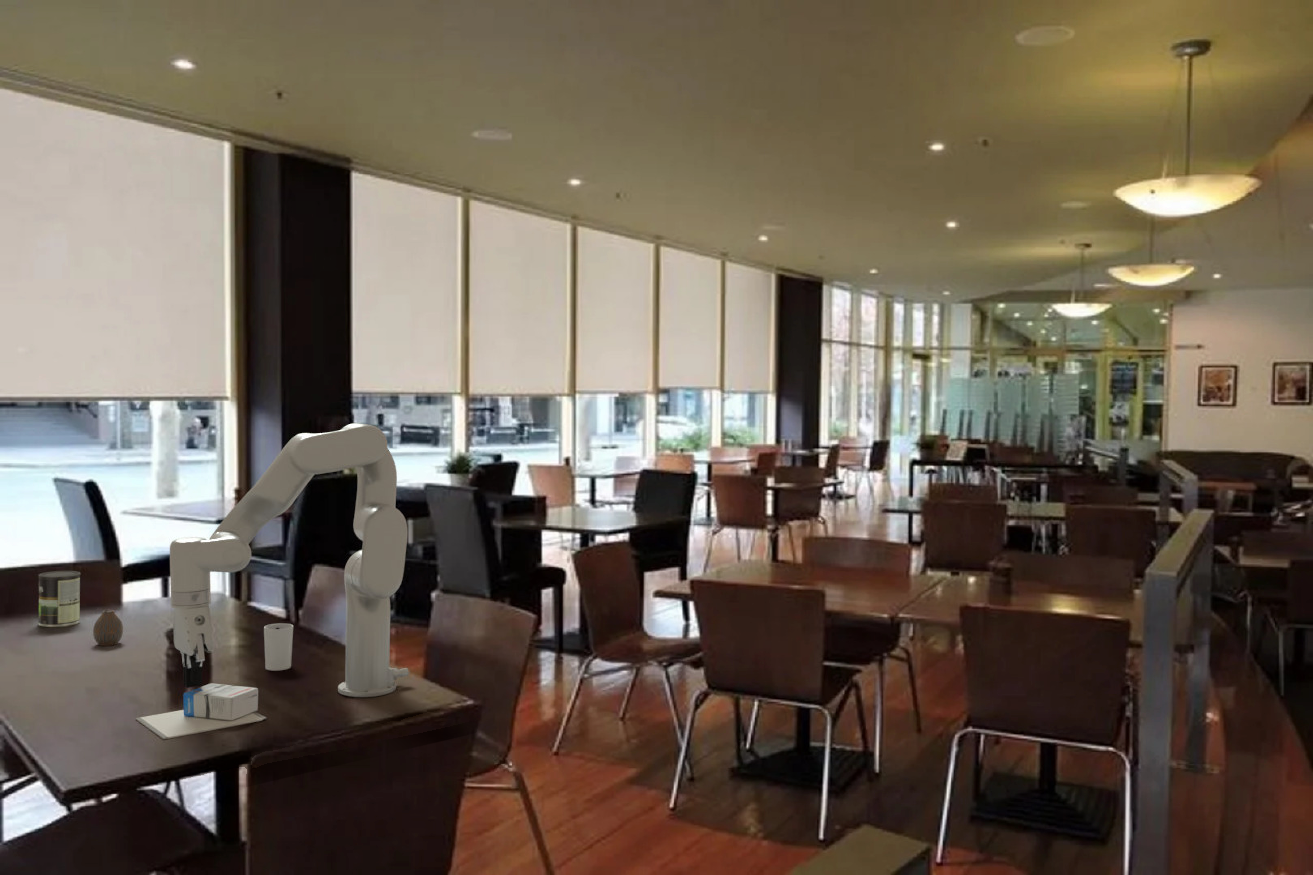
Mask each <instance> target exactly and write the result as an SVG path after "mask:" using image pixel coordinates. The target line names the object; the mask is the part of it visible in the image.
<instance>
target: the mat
mask: <svg viewBox="0 0 1313 875" xmlns="http://www.w3.org/2000/svg"><path fill="white" fill-rule="evenodd" d="M135 720H136V721H137V722H139V724H141V725H142V726H144V727H145V728H146V729H148V730H149V731H151V732H152V733H153V734H155V735H156V736H158V737H159V738H161V739H162V740H168V739H174V738H178V737H179V738H180V737H183V736H190V735H194V734H199V733H204V732H210V731H214V730H219V729H220V730H221V729H225V728H231V727H235V726H240V725H246V724H251V723H255V722H256V723H257V722H261V721H266V720H267V717H266V716H264V715H261V714H260V713H258V712H257V711H254V712H252V713H249V714H247V715H244V716H242V717H239V718H237V719H234V720H223V719H214V718H204V717H194V716H184V709H180V710H175V711H168V712H164V713H158V714H152V715H147V716H141V717H136V718H135Z"/></svg>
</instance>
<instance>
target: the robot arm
mask: <svg viewBox="0 0 1313 875" xmlns="http://www.w3.org/2000/svg"><path fill="white" fill-rule="evenodd" d="M353 468H355V471H356V475H357V490H356V500H355V508H354V509H355V510H354V518H353V525H352V526H353V527H352V528H353V532H354V534H355V536H356V537H357V538H358V540H360V541H362V547H361V549H359V550H358V551H356V552H355V553H353V554H352V555H351V556H350V557H349V559H348V560H347V562H346V564H345V567H344V574H343V577H344V578H343V580H344V590H345V603H346V604H345V607H346V608H345V610H346V611H345V612H346V618H345V667H344V668H345V673H344V674H345V678H344V679H345V681H343V682H341V683H339V684H338V686H337V692H338V693H339V694H341V695H343V696H347V697H350V698H351V697H353V698H373V697H378V696H379V697H380V696H384V695H388V694H391V693H392V692H394V691H395V690H397V683H396V682H395V681H396V680H397V679H398V678H405V677H408V676H409V674H410V671H409V668H407V667H404V668H399V669H398V668H397V667H390V647H391V646H390V645H391V644H390V643H391V642H390V639H391V638H390V637H391V633H390V632H391V628H390V627H391V599H390V598H391V596H393V595H394V594H395V593H396V592H397V591H398V590H399V589H400V586H401V585H402V581H403V577H404V572H405V564H406V555H407V553H406V552H407V545H408V544H407V542H408V541H407V540H408V526H407V521H406V518H405V516H404V514H403V513H402V512H401V511H400V510H399V509H398V508H396V500H397V486H398V485H397V484H398V482H397V481H398V477H397V476H398V475H397V467H396V462H395V460H394V457H393V455H392V452H391V450H390V449H389V448H388V440H387V436H386V434H385V433H384V431H383V430H381V428H379V427H377V426H375V425H372V424H367V423H359V422H353V423H350V424H347V425H345V426H343V427H342V428H341V429H340V430H334V431H329V432H322V433H321V432H320V433H312V432H311V433H310V432H302V433H297V434H296V435H295V436H293V437H291V439H290V440H289V441H288V442H287V443H286V444H285V445H284V447H283V448H282V449H281V451H280V452H279V453H278V454H277V455H276V457H275V458H274V460H273V461H272V462H271V464H270V465H269V467H268V468H267V469H266V470H265V471H264V473H263V474H262V475H261V476H260V477H259V479H258V480H257V481H256V483H255V484H254V485H253V486H252V487H251V489H250V490H249V491H247V493H246V494H245V495H244V496H243V497H242V498H241V500H239V502H238V503H236V504H235V505H234V507H233V508H232V509H231V510H230V511H229V513H228V514H227V515H226V516H225V517H224V518H223V520H222V521H221V523H220V524H219V525H218V527H216V529H215V530H214V531H213V533H212V534H211V536H210V537H209V539H208V540H207V539H206V538H205V537H198V536H193V537H192V536H191V537H190V536H189V537H181V538H176V539H174V540H172V541H171V542H170V545H169V572H170V573H169V579H170V607H171V608H174V609H173V645H174V648H175V649H176V650H178V651H180V652H179V653H180V654H181V659H182V675H183V676H182V677H183V681H182V682H183V686H184V688H185V687H186V688H188V689H189V688H193V687H194V688H195V687H199V686H200V687H201V686H202V685H203V662H205V660H206V659H205V652H206V653H209V654H210V653H213V651H214V638H213V636H214V635H213V624H212V623H213V622H212V616H211V608H210V605H211V603H212V601H211V599H212V598H211V593H212V592H211V572H212V573H236V572H239V571H241V570H243V569H244V568H246V567H247V566H248V564H249V563H250V562H251V558H252V549H251V547H250V545H249V544H250V543H251V542H252V541H253V539H254V538H255V537H256V536H257V534H258V533H259V531H261V530H262V528H263V527H264V526H266V524H268V523H269V522H270V521H272V520H273V519H275V518H276V517H279V516H281V515H282V514H283V513H284V512H286V511H288V509H289V508H290V507H291V506H292V505H293V504H294V502H295V500H296V499H297V498H298V496H299V495H300V494H301V492H302V491H303V490H304V489H305V487H306V486H307V485H308V483H309V482H310V481H311V480H312V478H313V477H314V476H315V475H321V474H327V473H334V472H339V471H345V470H348V469H353Z"/></svg>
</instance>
